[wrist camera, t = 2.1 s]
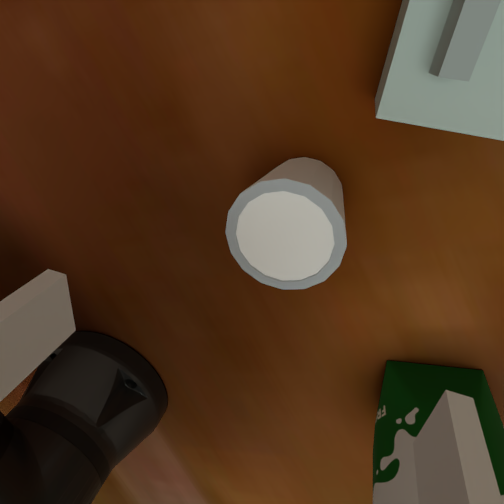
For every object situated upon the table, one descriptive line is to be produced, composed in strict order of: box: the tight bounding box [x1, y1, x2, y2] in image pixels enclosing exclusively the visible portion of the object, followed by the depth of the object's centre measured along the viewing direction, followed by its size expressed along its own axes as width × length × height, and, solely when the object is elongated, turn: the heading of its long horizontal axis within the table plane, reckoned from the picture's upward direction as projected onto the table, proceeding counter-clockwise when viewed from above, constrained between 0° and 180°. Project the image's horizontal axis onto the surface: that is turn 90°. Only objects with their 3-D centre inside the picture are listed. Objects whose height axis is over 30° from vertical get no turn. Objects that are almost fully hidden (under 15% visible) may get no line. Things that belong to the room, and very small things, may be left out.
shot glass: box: [225, 157, 347, 290], centre depth 23 cm, size 7×7×7 cm
